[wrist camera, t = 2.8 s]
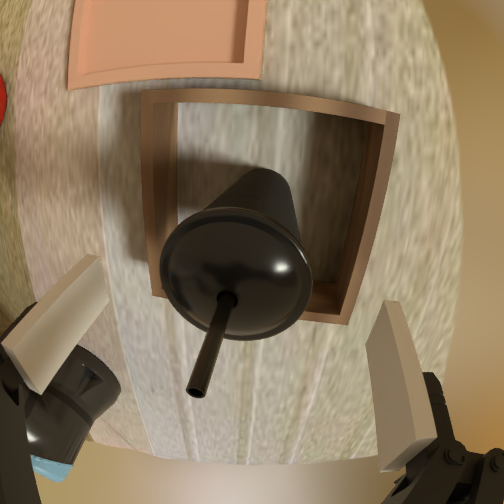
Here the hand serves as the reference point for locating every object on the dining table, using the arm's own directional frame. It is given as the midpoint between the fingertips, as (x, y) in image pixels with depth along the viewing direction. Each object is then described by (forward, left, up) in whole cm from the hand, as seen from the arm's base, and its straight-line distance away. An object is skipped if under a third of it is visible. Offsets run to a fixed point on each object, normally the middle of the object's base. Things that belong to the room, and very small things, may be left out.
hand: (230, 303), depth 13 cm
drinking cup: (0, 0, -16) cm, 15 cm away
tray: (-10, +19, -15) cm, 26 cm away
